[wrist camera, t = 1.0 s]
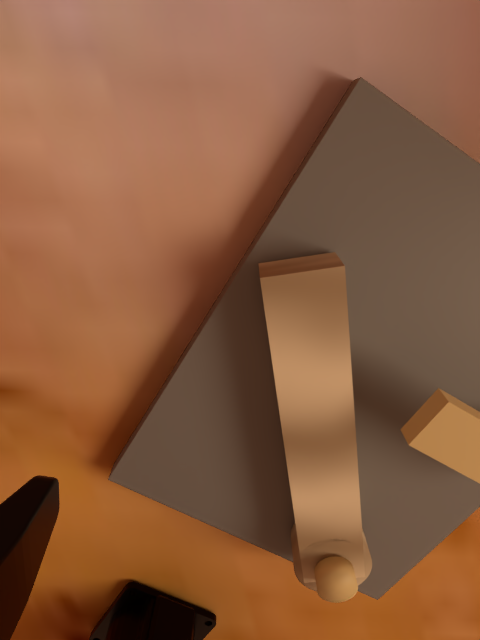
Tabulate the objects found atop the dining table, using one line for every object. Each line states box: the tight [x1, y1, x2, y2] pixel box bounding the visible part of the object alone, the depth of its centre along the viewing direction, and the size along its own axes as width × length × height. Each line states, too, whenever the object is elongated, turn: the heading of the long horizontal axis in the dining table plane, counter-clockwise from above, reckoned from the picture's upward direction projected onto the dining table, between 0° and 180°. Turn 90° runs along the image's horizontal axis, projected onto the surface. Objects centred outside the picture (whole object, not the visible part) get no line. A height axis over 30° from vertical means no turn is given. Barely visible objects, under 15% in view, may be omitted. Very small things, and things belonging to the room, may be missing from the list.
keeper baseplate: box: [108, 77, 480, 602], centre depth 21 cm, size 22×18×5 cm
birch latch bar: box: [258, 252, 372, 591], centre depth 21 cm, size 18×4×2 cm, turn 9°
